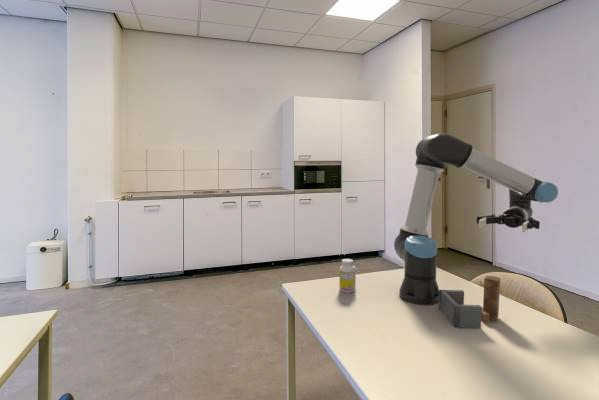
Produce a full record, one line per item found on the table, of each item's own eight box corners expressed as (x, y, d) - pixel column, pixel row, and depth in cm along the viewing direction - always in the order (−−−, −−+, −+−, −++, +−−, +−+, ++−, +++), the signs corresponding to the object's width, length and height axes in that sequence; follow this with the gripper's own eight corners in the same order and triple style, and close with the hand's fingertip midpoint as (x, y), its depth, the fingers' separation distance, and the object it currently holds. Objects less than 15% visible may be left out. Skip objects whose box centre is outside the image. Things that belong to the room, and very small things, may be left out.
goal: (438, 308, 125) (439, 289, 124) (461, 308, 124) (462, 290, 124) (454, 327, 110) (455, 306, 109) (480, 328, 109) (481, 306, 109)
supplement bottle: (344, 286, 149) (344, 257, 148) (358, 289, 145) (358, 259, 144) (336, 291, 143) (336, 260, 142) (350, 294, 140) (351, 263, 138)
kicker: (469, 319, 116) (471, 278, 114) (474, 312, 121) (476, 273, 120) (494, 325, 111) (496, 283, 110) (498, 317, 117) (500, 277, 115)
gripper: (553, 229, 129) (543, 241, 114) (480, 223, 146) (463, 232, 131) (553, 209, 128) (544, 218, 113) (480, 205, 145) (463, 212, 130)
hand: (500, 226), depth 122 cm, fingers open, 13 cm apart
